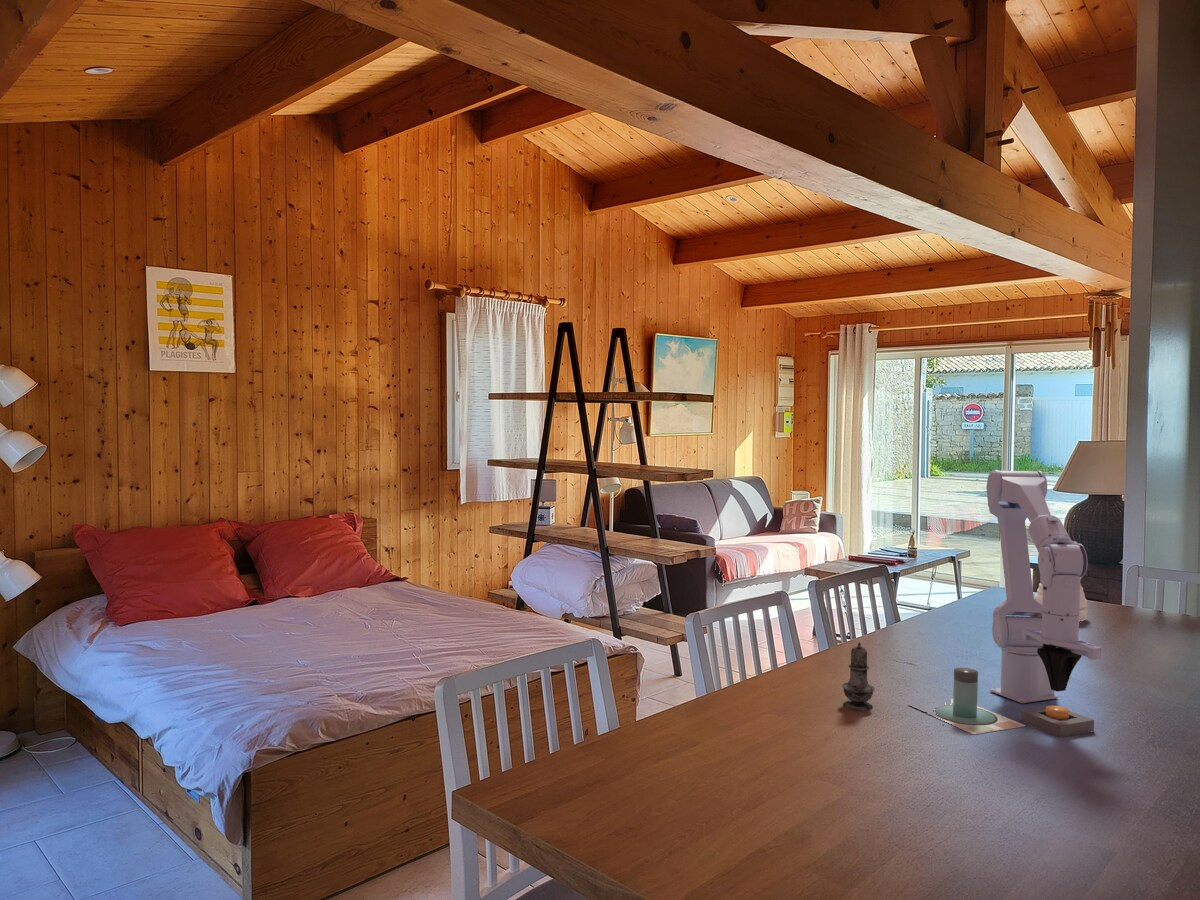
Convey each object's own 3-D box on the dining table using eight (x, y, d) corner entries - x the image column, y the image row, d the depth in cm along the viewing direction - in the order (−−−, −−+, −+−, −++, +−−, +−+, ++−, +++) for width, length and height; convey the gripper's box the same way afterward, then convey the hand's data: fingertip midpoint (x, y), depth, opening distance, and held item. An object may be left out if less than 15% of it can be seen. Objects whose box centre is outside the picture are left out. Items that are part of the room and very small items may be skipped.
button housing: (1054, 716, 158) (1054, 705, 158) (1093, 731, 150) (1094, 719, 150) (1021, 721, 155) (1021, 710, 155) (1059, 737, 147) (1060, 725, 147)
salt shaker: (876, 712, 159) (877, 647, 158) (842, 709, 160) (844, 645, 160) (872, 702, 165) (874, 639, 164) (840, 699, 166) (841, 637, 165)
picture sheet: (957, 698, 167) (957, 697, 167) (1026, 726, 153) (1026, 725, 153) (907, 705, 163) (907, 704, 163) (973, 734, 148) (973, 733, 148)
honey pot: (1042, 621, 234) (1044, 554, 233) (1027, 611, 246) (1029, 547, 246) (1094, 623, 232) (1096, 556, 231) (1076, 613, 244) (1078, 549, 244)
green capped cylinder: (964, 709, 160) (966, 666, 160) (981, 716, 157) (983, 672, 156) (947, 712, 159) (949, 668, 159) (964, 719, 155) (965, 675, 155)
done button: (1055, 713, 155) (1056, 704, 155) (1073, 720, 152) (1074, 711, 152) (1040, 715, 154) (1041, 706, 154) (1058, 722, 150) (1058, 713, 150)
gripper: (1009, 605, 157) (1007, 680, 158) (1080, 623, 144) (1078, 705, 144) (1038, 603, 160) (1036, 676, 160) (1111, 620, 146) (1108, 700, 147)
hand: (1058, 689), depth 152 cm, fingers closed
